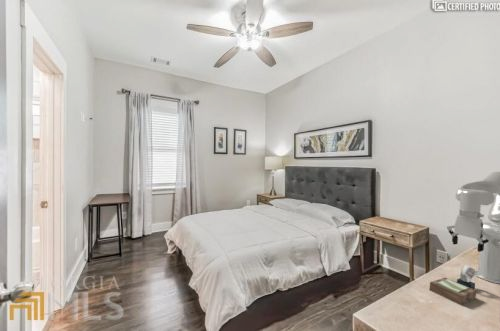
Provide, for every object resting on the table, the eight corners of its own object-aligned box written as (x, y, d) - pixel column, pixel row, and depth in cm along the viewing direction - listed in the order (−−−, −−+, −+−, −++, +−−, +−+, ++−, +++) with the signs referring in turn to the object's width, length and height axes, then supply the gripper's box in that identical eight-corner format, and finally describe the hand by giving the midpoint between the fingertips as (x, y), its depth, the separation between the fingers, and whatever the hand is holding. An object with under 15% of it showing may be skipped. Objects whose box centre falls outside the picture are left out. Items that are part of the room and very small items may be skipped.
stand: (444, 285, 114) (445, 276, 114) (475, 298, 104) (476, 289, 104) (429, 290, 109) (430, 281, 109) (460, 305, 98) (461, 295, 98)
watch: (476, 288, 113) (478, 267, 113) (468, 291, 109) (470, 269, 109) (462, 283, 118) (463, 262, 118) (454, 285, 115) (456, 264, 114)
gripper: (496, 218, 106) (494, 253, 106) (452, 210, 122) (449, 240, 122) (489, 219, 103) (487, 255, 103) (444, 211, 119) (442, 242, 119)
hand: (467, 247), depth 113 cm, fingers open, 9 cm apart
